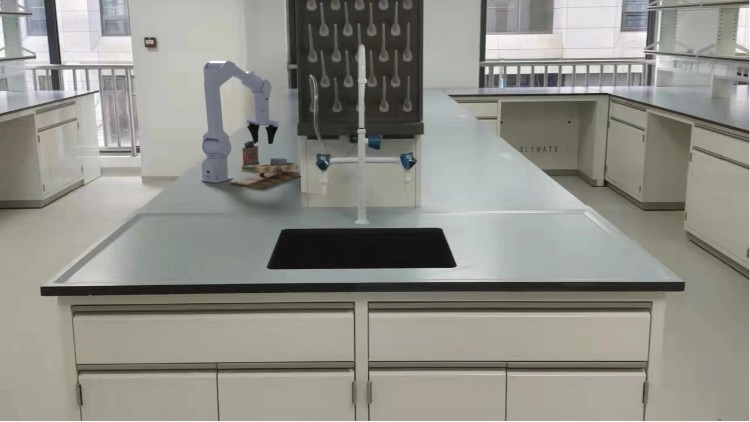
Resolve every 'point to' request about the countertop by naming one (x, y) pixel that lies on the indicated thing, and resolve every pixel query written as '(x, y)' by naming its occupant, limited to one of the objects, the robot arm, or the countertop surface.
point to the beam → (268, 168)
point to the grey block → (278, 162)
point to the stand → (267, 179)
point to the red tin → (250, 154)
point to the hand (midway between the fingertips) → (263, 143)
